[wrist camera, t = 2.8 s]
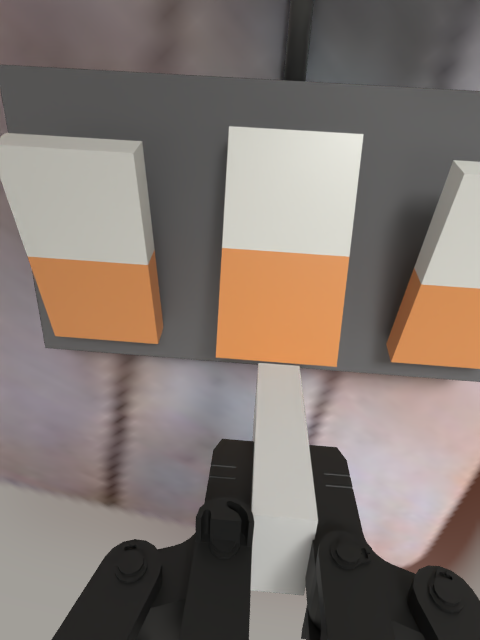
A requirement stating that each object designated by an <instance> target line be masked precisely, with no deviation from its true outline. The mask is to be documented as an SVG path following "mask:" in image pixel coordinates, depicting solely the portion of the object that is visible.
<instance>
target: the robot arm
mask: <svg viewBox="0 0 480 640" xmlns="http://www.w3.org/2000/svg"><path fill="white" fill-rule="evenodd" d="M305 587H306V591H307V592H306V594H307V608H306V613H305V618H304V623H303V628H302V637H301V639H306V640H480V601H479V599H478V597H477V596H476V594H475V593H474V591H473V590H472V589H471V588H470V587H469V585H468V584H467V583H466V582H465V581H464V580H463V579H462V578H461V577H459V576H458V575H457V574H455V573H454V572H452V571H450V570H448V569H445V568H443V567H440V566H426V567H424V568H421V569H419V570H418V572H417V573H416V574H414V573H412V572H409V571H407V570H404V569H402V568H399V567H397V566H394V565H392V564H390V563H388V562H386V561H384V560H383V559H382V558H380V557H379V556H378V555H377V554H376V553H375V552H374V551H373V550H372V548H371V547H370V546H369V545H368V544H367V542H366V540H365V538H364V535H363V532H362V527H361V523H360V518H359V514H358V510H357V505H356V501H355V496H354V492H353V489H352V483H351V478H350V474H349V469H348V465H347V460H346V459H345V458H344V456H343V455H342V454H341V452H340V451H339V450H338V448H337V447H326V446H314V445H309V441H308V432H307V424H306V416H305V407H304V399H303V391H302V382H301V374H300V366H293V365H280V364H267V363H258V375H257V386H256V398H255V410H254V423H253V441H242V440H230V439H222V440H221V441H220V442H219V444H218V445H217V446H216V448H215V449H214V450H213V456H212V462H211V468H210V474H209V480H208V486H207V492H206V498H205V504H204V505H203V506H202V507H200V509H199V511H198V514H197V516H196V533H195V534H194V535H193V536H192V537H191V538H190V539H188V540H186V541H185V542H183V543H181V544H178V545H175V546H171V547H167V548H163V549H158V550H157V549H156V547H155V546H154V545H152V544H150V543H149V542H147V541H144V540H136V539H134V540H130V541H126V542H122V543H121V544H119V545H117V546H116V547H114V548H113V549H112V550H111V551H110V552H109V553H108V554H107V555H106V556H105V558H104V559H103V561H102V562H101V564H100V565H99V567H98V569H97V570H96V572H95V573H94V575H93V576H92V578H91V580H90V581H89V582H88V584H87V586H86V587H85V589H84V590H83V592H82V593H81V595H80V597H79V598H78V600H77V601H76V603H75V604H74V606H73V607H72V609H71V611H70V612H69V614H68V615H67V617H66V618H65V620H64V621H63V623H62V625H61V626H60V628H59V629H58V631H57V632H56V634H55V635H54V637H53V639H52V640H249V617H250V616H249V615H250V590H252V591H263V592H273V593H285V594H295V595H304V591H305Z"/></svg>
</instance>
